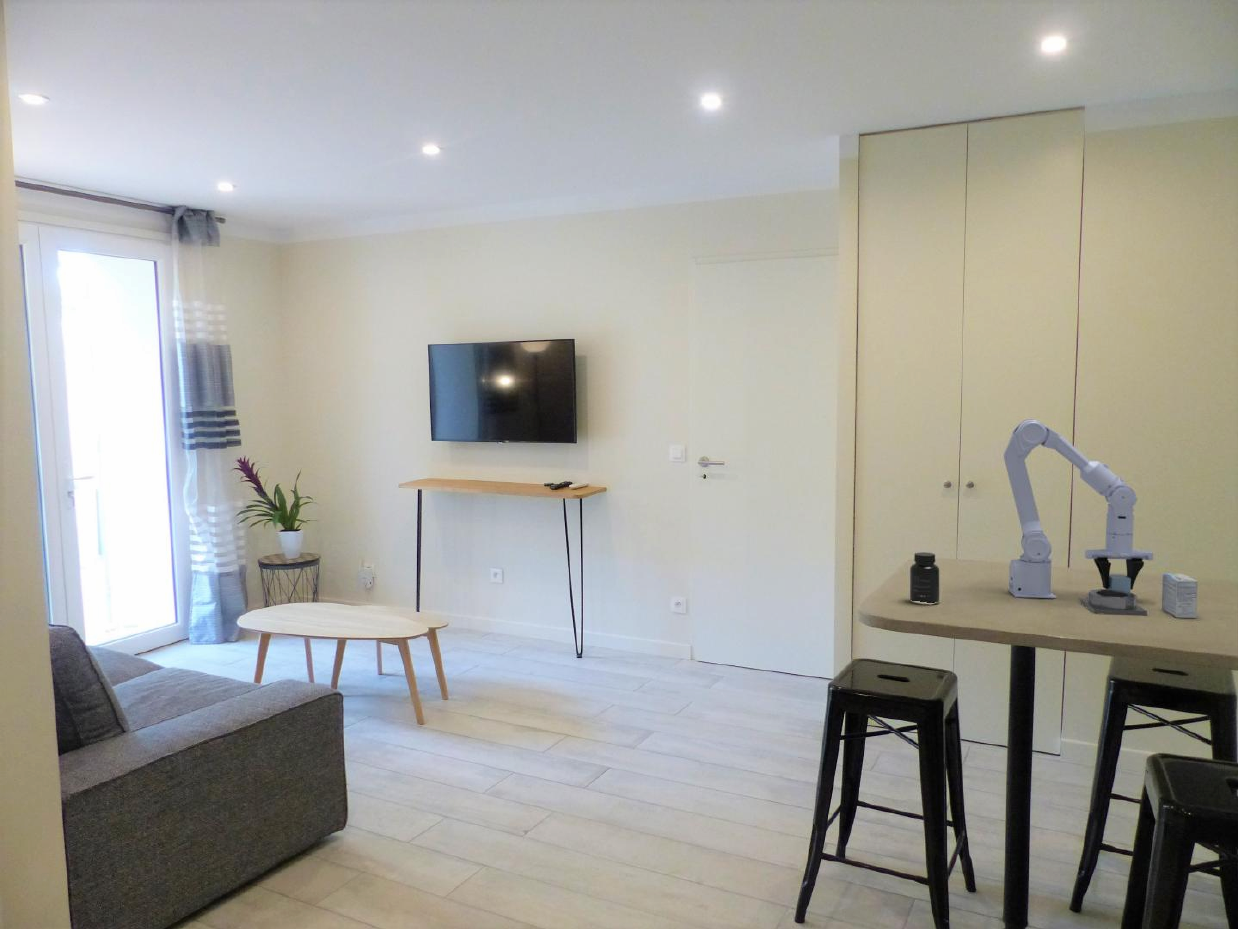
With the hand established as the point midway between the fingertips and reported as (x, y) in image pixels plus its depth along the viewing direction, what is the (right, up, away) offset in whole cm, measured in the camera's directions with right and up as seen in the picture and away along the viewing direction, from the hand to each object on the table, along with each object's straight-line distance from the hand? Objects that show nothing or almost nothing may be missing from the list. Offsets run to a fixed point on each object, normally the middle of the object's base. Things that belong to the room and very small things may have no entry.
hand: (1117, 588), depth 212 cm
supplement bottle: (-47, -4, +1) cm, 47 cm away
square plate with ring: (-6, -4, -8) cm, 10 cm away
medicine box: (+6, -4, -13) cm, 15 cm away
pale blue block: (0, -3, 0) cm, 3 cm away
